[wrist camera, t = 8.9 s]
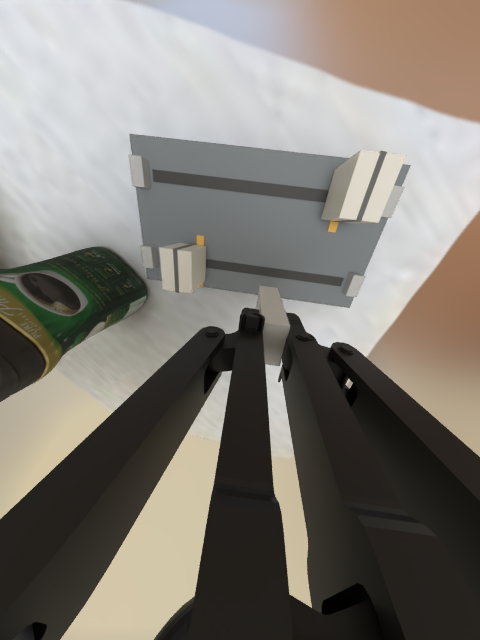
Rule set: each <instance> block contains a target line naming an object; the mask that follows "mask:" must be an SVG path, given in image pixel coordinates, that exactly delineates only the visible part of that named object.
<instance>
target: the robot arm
mask: <svg viewBox="0 0 480 640" xmlns="http://www.w3.org/2000/svg"><path fill="white" fill-rule="evenodd" d="M0 271H1V269H0ZM281 359H282V363H283V365H282V368H281V372H280V375H279V379H278V382H280V380H281V378H282V382H283V388H284V394H285V400H286V407H287V413H288V419H289V425H290V431H291V437H292V443H293V449H294V455H295V461H296V467H297V474H298V480H299V486H300V492H301V498H302V504H303V510H304V516H305V522H306V528H307V535H308V558H307V571H308V581H309V589H310V596H311V603H312V608H311V607H309V606H308V605H306V604H304V603H303V602H301V601H299V600H298V599H296V598H294V597H293V596H291V595H289V587H288V576H287V565H286V555H285V543H284V532H283V523H282V515H281V511H280V506H279V502H278V501H277V499H276V497H275V494H274V488H273V475H272V460H271V445H270V431H269V416H268V401H267V387H266V372H265V364H269V365H276V366H280V363H281ZM231 370H232V374H231V380H230V386H229V393H228V399H227V405H226V412H225V418H224V424H223V430H222V437H221V443H220V449H219V456H218V462H217V468H216V475H215V481H214V486H213V491H212V495H211V501H210V507H209V512H208V519H207V524H206V530H205V537H204V543H203V549H202V555H201V561H200V568H199V574H198V580H197V587H196V592H195V596H194V597H193V598H192V599H191V600H189V601H188V602H187V603H185V604H184V605H183V606H182V607H181V608H180V609H179V610H178V611H177V612H176V613H175V614H174V615H173V616H172V617H171V618H170V620H169V621H168V622H167V623H166V624H165V626H164V627H163V628H162V630H161V631H160V632H159V633H158V635H157V636H156V637H155V639H154V640H480V457H479V456H478V455H477V454H475V453H474V452H473V451H472V450H471V449H470V448H469V447H467V446H466V445H465V444H464V443H463V442H462V441H461V440H460V439H458V438H457V437H456V436H455V435H454V434H453V433H452V432H450V431H449V430H448V429H447V428H446V427H445V426H443V425H442V424H441V423H440V422H439V421H438V420H437V419H436V418H434V417H433V416H432V415H431V414H430V413H429V412H428V411H426V410H425V409H424V408H423V407H422V406H421V405H419V404H418V403H417V402H416V401H415V400H414V399H413V398H411V397H410V396H409V395H408V394H407V393H406V392H405V391H404V390H402V389H401V388H400V387H399V386H398V385H397V384H396V383H394V382H393V381H392V380H391V379H390V378H389V377H388V376H386V375H385V374H384V373H383V372H382V371H381V370H380V369H378V368H377V367H376V366H375V365H374V364H373V363H372V362H371V361H369V360H368V359H367V358H366V357H365V356H364V355H363V354H361V353H360V352H359V351H358V350H357V349H355V348H354V347H352V346H350V345H349V344H345V343H340V342H336V343H333V344H332V346H331V348H328V347H325V346H321V345H319V344H318V343H317V341H316V339H315V338H314V336H312V335H311V334H309V333H307V332H306V331H305V329H304V327H303V325H302V323H301V320H300V318H299V317H298V316H297V315H296V314H294V313H286V312H285V309H284V306H283V303H282V300H281V297H280V294H279V291H278V288H275V287H267V286H260V287H259V293H258V300H257V306H256V309H251V308H244V309H243V310H242V313H241V315H240V322H239V330H238V331H236V332H235V333H231V334H225V333H224V331H223V330H222V329H221V328H218V327H214V326H209V327H205V328H203V329H201V330H200V331H199V332H198V333H197V334H195V335H194V336H193V337H192V338H191V339H190V340H189V341H188V342H187V343H186V344H185V345H184V346H183V347H182V348H181V349H180V350H179V351H178V352H176V353H175V354H174V355H173V356H172V357H171V358H170V359H169V360H168V361H167V362H166V363H165V364H164V365H163V366H162V367H161V368H160V369H159V370H157V371H156V372H155V373H154V374H153V375H152V376H151V377H150V378H149V379H148V380H147V381H146V382H145V383H144V384H143V385H142V386H141V387H140V388H138V389H137V390H136V391H135V392H134V393H133V394H132V395H131V396H130V397H129V398H128V399H127V400H126V401H125V402H124V403H123V404H122V405H121V406H119V407H118V408H117V409H116V410H115V411H114V412H113V413H112V414H111V415H110V416H109V417H108V418H107V419H106V420H105V421H104V422H103V423H102V424H101V425H100V426H99V427H97V428H96V429H95V430H94V431H93V432H92V433H91V434H90V435H89V436H88V437H87V438H86V439H85V440H84V441H83V442H82V443H80V445H78V446H77V447H76V448H75V449H74V450H73V451H72V452H71V453H70V454H69V455H68V456H67V457H66V458H65V459H64V460H62V462H60V463H59V464H58V465H57V466H56V467H55V468H54V469H53V470H52V471H51V472H50V473H49V474H48V475H47V476H46V477H45V478H43V479H42V480H41V481H40V482H39V483H38V484H37V485H36V486H35V487H34V488H33V489H32V490H31V491H30V492H29V493H28V494H27V495H26V496H25V497H23V498H22V499H21V500H20V501H19V502H18V503H17V504H16V505H15V506H14V507H13V508H12V509H11V510H10V511H9V512H8V513H7V514H6V515H4V516H3V517H2V518H1V519H0V640H60V639H61V638H62V636H63V635H64V633H65V632H66V631H67V629H68V628H69V626H70V625H71V623H72V622H73V621H74V619H75V618H76V616H77V615H78V614H79V612H80V611H81V609H82V608H83V607H84V605H85V604H86V602H87V601H88V599H89V597H90V596H91V594H92V593H93V591H94V589H95V588H96V586H97V585H98V583H99V581H100V580H101V578H102V577H103V575H104V573H105V572H106V570H107V568H108V567H109V565H110V564H111V562H112V560H113V558H114V557H115V555H116V553H117V552H118V550H119V548H120V547H121V545H122V543H123V541H124V540H125V538H126V536H127V535H128V533H129V531H130V529H131V528H132V526H133V524H134V522H135V521H136V519H137V518H138V516H139V514H140V512H141V511H142V509H143V507H144V505H145V504H146V502H147V500H148V499H149V497H150V495H151V494H152V492H153V490H154V488H155V487H156V485H157V483H158V482H159V480H160V478H161V476H162V475H163V473H164V471H165V470H166V468H167V466H168V465H169V463H170V461H171V460H172V458H173V456H174V454H175V453H176V451H177V449H178V447H179V446H180V444H181V442H182V441H183V439H184V437H185V436H186V434H187V432H188V430H189V429H190V427H191V425H192V424H193V422H194V420H195V419H196V417H197V415H198V413H199V412H200V410H201V408H202V407H203V405H204V403H205V401H206V400H207V398H208V396H209V395H210V393H211V391H212V390H213V388H214V386H215V384H216V383H217V381H218V379H219V378H220V376H221V373H222V372H223V371H231ZM348 378H349V379H350V380H351V381H352V382H353V384H352V386H351V388H350V389H349V388H348V387H347V386H346V385H345V384H346V382H347V380H348Z"/></svg>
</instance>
